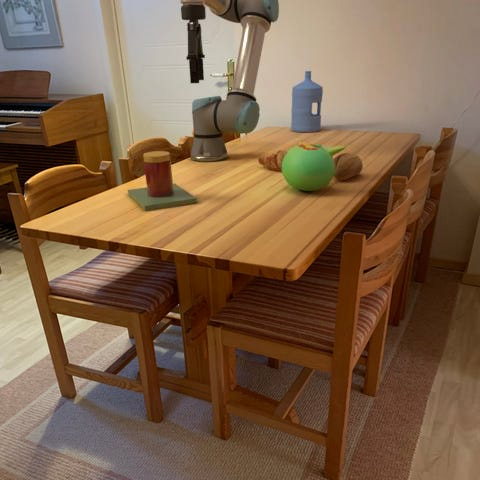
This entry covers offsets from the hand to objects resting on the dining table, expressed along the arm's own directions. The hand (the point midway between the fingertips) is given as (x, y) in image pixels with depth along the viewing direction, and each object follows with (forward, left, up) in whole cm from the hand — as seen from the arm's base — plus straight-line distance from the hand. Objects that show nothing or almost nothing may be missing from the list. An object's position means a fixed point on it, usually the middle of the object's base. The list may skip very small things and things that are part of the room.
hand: (197, 81), depth 159 cm
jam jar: (+20, -22, -29) cm, 42 cm away
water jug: (-66, +85, -31) cm, 112 cm away
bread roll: (+28, +42, -31) cm, 59 cm away
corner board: (+20, -22, -31) cm, 43 cm away
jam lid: (+20, -22, -18) cm, 35 cm away
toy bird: (+34, +23, -31) cm, 51 cm away
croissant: (+6, +30, -31) cm, 43 cm away
